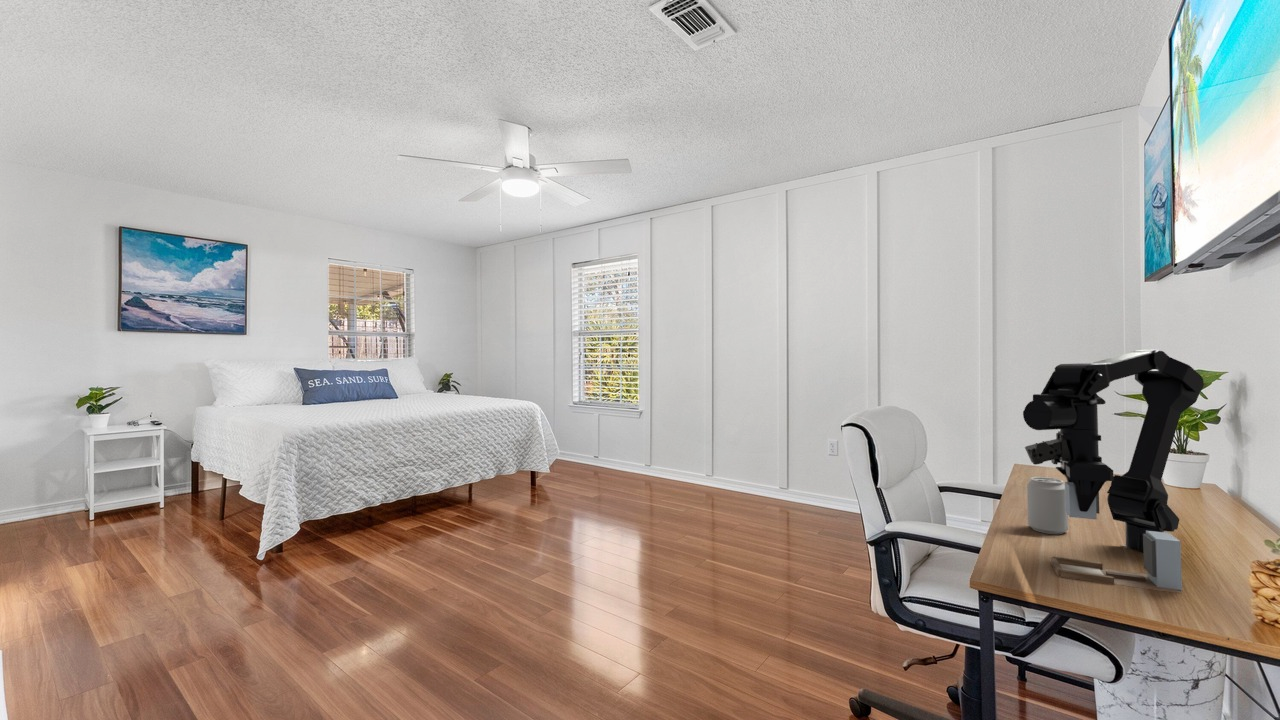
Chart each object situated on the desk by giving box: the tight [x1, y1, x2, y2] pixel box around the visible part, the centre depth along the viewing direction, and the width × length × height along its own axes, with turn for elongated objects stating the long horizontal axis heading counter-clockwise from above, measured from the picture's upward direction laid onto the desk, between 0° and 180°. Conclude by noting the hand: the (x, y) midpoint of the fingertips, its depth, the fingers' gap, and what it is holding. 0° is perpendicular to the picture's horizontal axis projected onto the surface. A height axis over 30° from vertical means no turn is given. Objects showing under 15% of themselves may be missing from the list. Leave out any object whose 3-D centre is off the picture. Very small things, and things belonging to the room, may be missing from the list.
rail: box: [1049, 556, 1182, 594], centre depth 95 cm, size 8×16×2 cm, turn 61°
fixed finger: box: [1142, 531, 1183, 591], centre depth 92 cm, size 5×4×8 cm
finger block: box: [1064, 481, 1100, 520], centre depth 105 cm, size 4×4×6 cm
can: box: [1026, 476, 1069, 535], centre depth 126 cm, size 8×8×12 cm
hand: (1080, 508), depth 105 cm, fingers closed on finger block, 4 cm apart
